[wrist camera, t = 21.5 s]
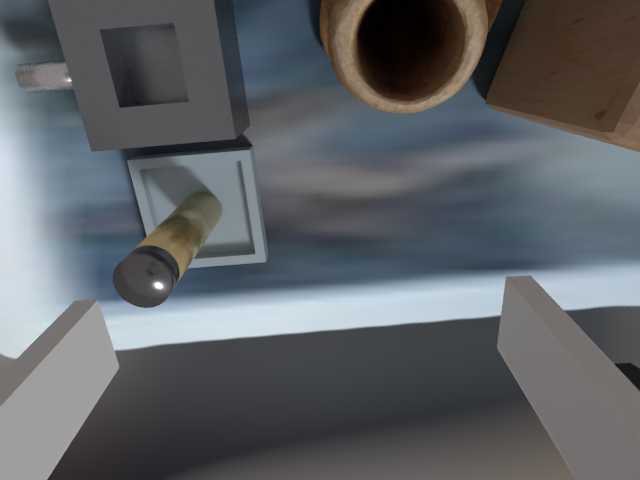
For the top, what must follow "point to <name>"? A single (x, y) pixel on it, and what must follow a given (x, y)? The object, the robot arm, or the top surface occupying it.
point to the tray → (217, 179)
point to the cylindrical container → (167, 251)
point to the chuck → (147, 70)
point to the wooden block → (574, 69)
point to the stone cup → (405, 48)
